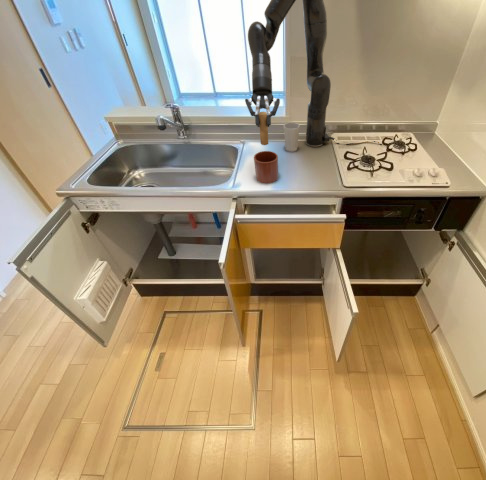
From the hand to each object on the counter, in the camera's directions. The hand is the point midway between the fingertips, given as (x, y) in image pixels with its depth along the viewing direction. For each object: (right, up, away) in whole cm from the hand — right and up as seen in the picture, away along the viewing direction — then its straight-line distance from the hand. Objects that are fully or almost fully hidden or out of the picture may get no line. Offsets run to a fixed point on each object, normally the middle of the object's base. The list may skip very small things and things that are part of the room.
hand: (263, 126), depth 102 cm
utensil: (0, -4, +7) cm, 8 cm away
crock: (0, -15, +18) cm, 24 cm away
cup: (+11, +4, +37) cm, 39 cm away
